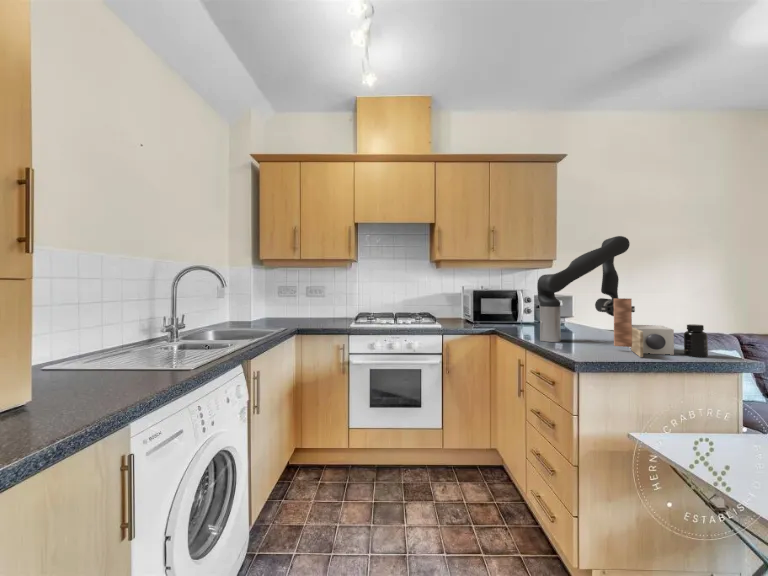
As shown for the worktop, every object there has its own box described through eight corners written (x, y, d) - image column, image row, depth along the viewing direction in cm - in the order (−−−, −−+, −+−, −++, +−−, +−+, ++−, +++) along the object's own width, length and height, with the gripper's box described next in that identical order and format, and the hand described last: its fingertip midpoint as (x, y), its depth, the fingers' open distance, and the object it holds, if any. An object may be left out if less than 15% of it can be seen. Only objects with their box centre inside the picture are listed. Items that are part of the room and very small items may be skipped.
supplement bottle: (698, 354, 135) (697, 323, 135) (713, 357, 128) (712, 325, 128) (679, 354, 136) (679, 323, 136) (693, 357, 129) (692, 325, 129)
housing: (637, 353, 137) (637, 328, 137) (628, 347, 152) (628, 324, 151) (675, 355, 132) (675, 330, 132) (662, 348, 147) (661, 325, 146)
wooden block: (621, 355, 132) (620, 299, 132) (614, 349, 144) (613, 298, 144) (643, 357, 129) (642, 299, 129) (633, 350, 142) (633, 298, 142)
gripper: (597, 299, 162) (603, 301, 146) (631, 299, 156) (641, 301, 140) (597, 315, 162) (603, 318, 146) (631, 316, 156) (641, 319, 140)
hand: (622, 310), depth 143 cm, fingers closed
